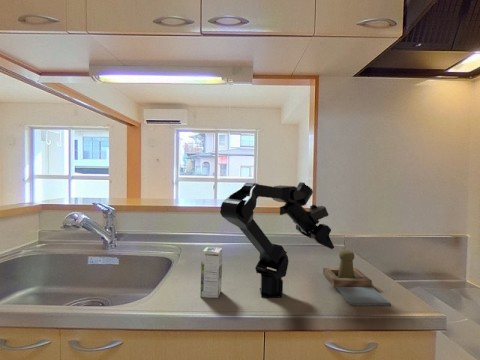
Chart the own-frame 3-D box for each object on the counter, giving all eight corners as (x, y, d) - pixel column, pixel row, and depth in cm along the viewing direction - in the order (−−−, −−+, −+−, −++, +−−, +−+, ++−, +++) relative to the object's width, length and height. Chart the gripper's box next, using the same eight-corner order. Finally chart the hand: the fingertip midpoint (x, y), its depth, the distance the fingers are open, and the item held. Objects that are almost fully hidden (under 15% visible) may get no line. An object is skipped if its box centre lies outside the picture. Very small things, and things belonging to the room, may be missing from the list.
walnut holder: (334, 287, 104) (334, 280, 104) (323, 274, 117) (323, 267, 117) (371, 287, 105) (371, 280, 105) (356, 274, 118) (356, 268, 118)
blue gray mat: (350, 305, 91) (350, 302, 91) (337, 289, 103) (337, 286, 103) (390, 305, 91) (390, 302, 91) (372, 289, 103) (372, 287, 103)
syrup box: (204, 290, 100) (204, 246, 100) (222, 291, 100) (222, 247, 99) (200, 297, 95) (200, 251, 94) (218, 298, 94) (219, 252, 93)
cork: (340, 276, 115) (341, 247, 115) (357, 280, 111) (358, 250, 111) (334, 281, 111) (335, 251, 110) (351, 285, 107) (352, 254, 106)
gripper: (326, 201, 98) (356, 234, 101) (304, 196, 117) (330, 224, 119) (302, 225, 97) (333, 258, 100) (284, 216, 116) (310, 244, 118)
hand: (327, 245), depth 109 cm, fingers open, 9 cm apart
